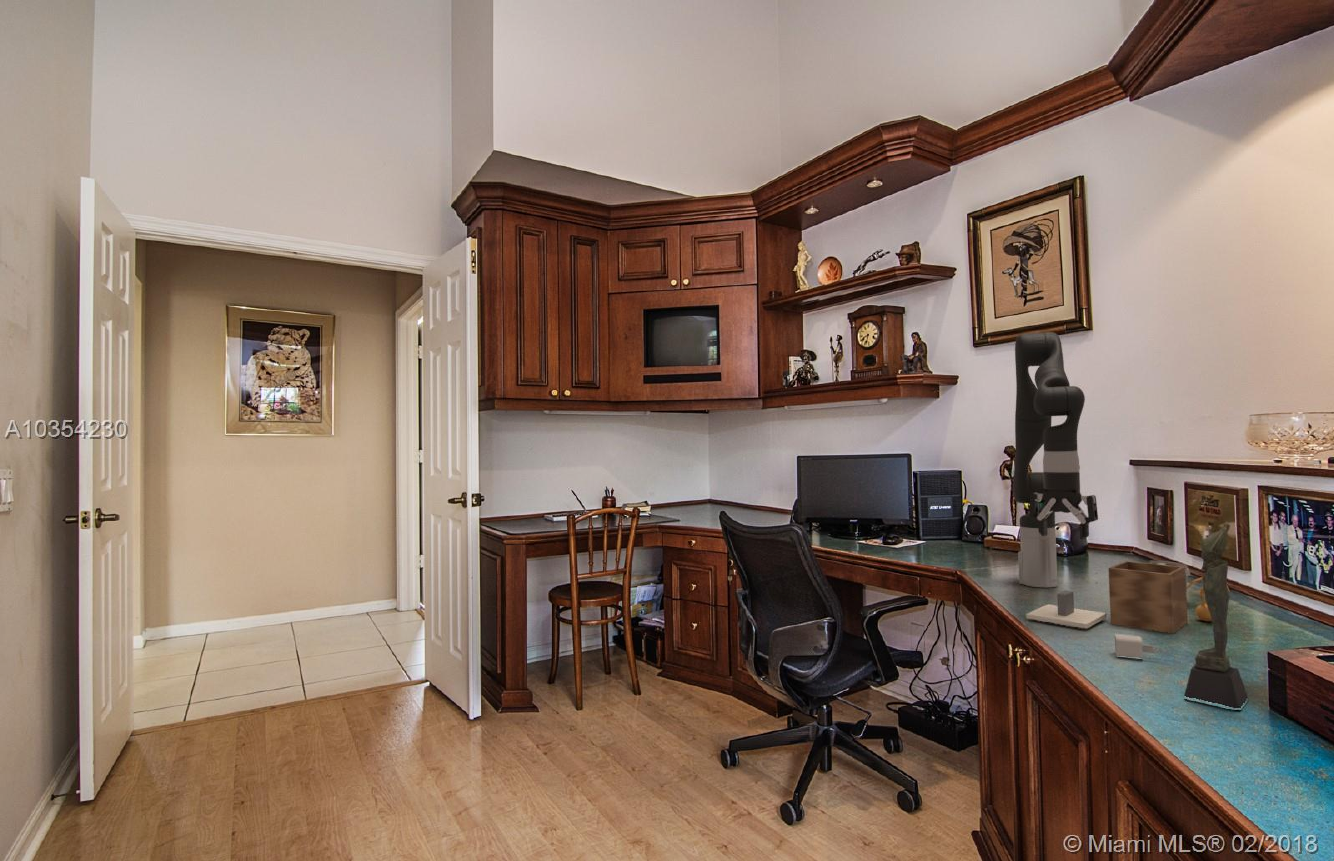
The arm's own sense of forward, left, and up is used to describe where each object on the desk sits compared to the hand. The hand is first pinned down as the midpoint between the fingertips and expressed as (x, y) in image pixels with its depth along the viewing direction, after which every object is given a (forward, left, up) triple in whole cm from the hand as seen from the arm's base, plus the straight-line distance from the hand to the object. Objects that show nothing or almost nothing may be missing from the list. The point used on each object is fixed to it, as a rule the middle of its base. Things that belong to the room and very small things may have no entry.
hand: (1063, 537), depth 163 cm
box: (+14, +10, -20) cm, 26 cm away
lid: (0, 0, -19) cm, 19 cm away
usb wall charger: (+20, -19, -20) cm, 34 cm away
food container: (+13, +36, -20) cm, 43 cm away
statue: (+35, -35, -20) cm, 53 cm away
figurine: (+23, +20, -20) cm, 37 cm away
